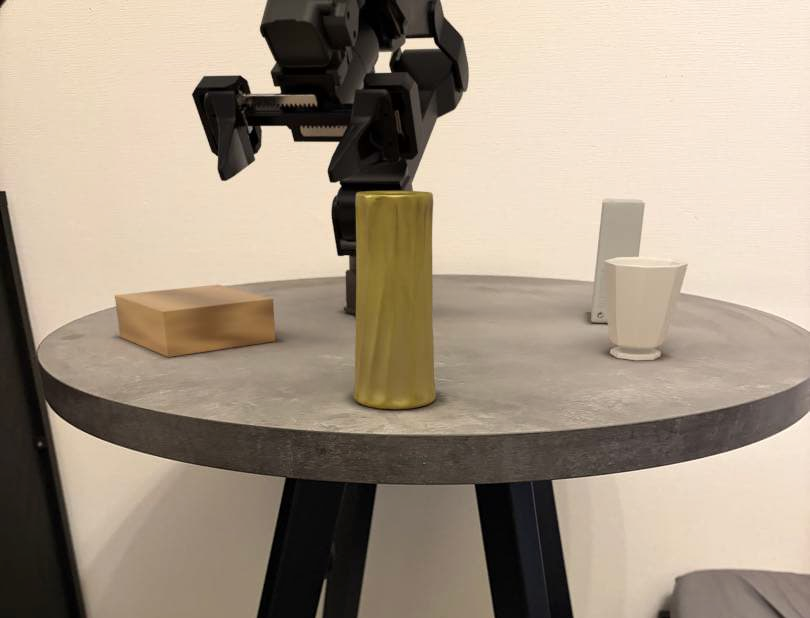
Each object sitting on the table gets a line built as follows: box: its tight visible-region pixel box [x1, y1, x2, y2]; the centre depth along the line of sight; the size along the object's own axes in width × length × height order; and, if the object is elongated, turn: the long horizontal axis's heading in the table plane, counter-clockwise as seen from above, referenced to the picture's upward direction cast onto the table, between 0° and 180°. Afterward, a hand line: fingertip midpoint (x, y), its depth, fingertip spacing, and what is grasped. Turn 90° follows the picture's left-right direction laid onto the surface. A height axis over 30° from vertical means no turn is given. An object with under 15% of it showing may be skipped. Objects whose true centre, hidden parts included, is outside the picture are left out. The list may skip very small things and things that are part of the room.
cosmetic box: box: [590, 198, 646, 324], centre depth 91 cm, size 6×4×12 cm
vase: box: [353, 190, 437, 410], centre depth 62 cm, size 6×6×14 cm
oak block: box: [114, 284, 276, 358], centre depth 83 cm, size 11×11×4 cm
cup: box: [604, 256, 689, 361], centre depth 78 cm, size 7×10×8 cm
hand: (275, 176), depth 67 cm, fingers open, 9 cm apart
